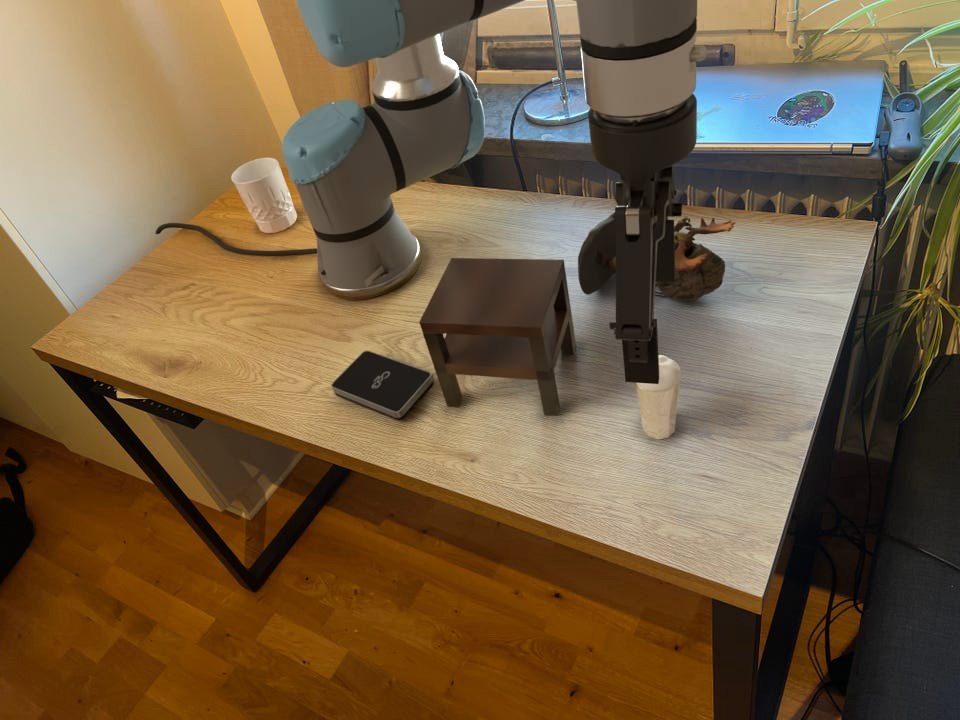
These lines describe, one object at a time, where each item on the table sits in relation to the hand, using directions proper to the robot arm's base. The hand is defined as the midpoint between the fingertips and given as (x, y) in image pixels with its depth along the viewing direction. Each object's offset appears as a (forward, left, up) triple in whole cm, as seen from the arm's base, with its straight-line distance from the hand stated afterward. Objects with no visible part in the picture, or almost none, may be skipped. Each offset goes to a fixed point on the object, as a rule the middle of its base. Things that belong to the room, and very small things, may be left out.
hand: (652, 326), depth 64 cm
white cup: (-67, +38, -15) cm, 79 cm away
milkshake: (0, 0, -15) cm, 15 cm away
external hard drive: (-32, +2, -15) cm, 35 cm away
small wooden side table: (-17, +6, -14) cm, 23 cm away
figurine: (-3, +23, -15) cm, 27 cm away
